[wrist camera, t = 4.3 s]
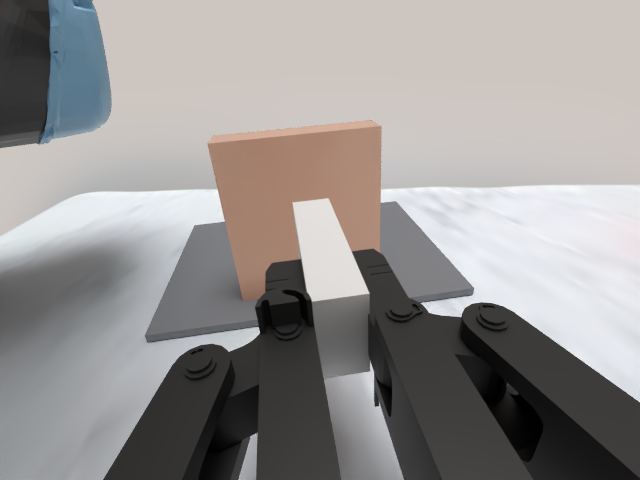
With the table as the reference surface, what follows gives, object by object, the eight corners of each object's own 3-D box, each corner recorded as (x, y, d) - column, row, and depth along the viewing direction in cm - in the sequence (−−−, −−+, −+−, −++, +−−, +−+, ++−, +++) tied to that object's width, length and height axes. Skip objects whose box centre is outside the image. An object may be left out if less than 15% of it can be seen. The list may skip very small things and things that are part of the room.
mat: (147, 342, 20) (145, 335, 20) (195, 230, 33) (194, 225, 33) (472, 294, 22) (474, 288, 21) (395, 205, 35) (395, 201, 34)
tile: (243, 300, 22) (207, 143, 17) (245, 280, 24) (213, 134, 19) (379, 281, 23) (381, 126, 18) (370, 263, 25) (369, 119, 20)
